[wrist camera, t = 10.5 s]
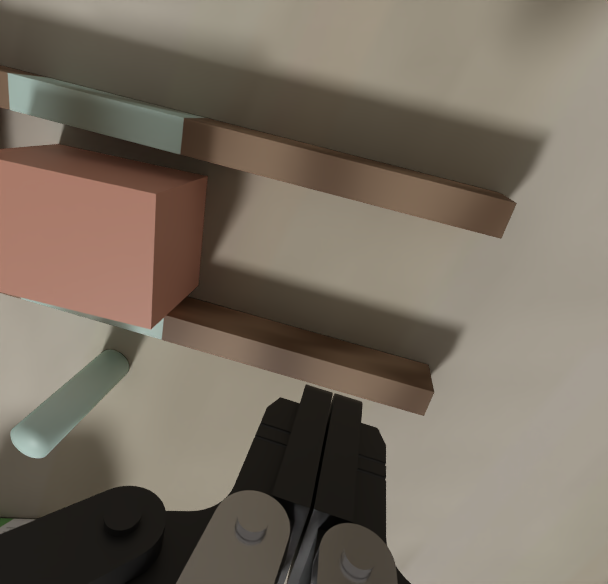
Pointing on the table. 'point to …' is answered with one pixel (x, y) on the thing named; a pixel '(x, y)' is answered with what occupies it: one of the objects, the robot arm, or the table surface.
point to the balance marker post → (68, 405)
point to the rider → (99, 232)
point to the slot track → (288, 168)
